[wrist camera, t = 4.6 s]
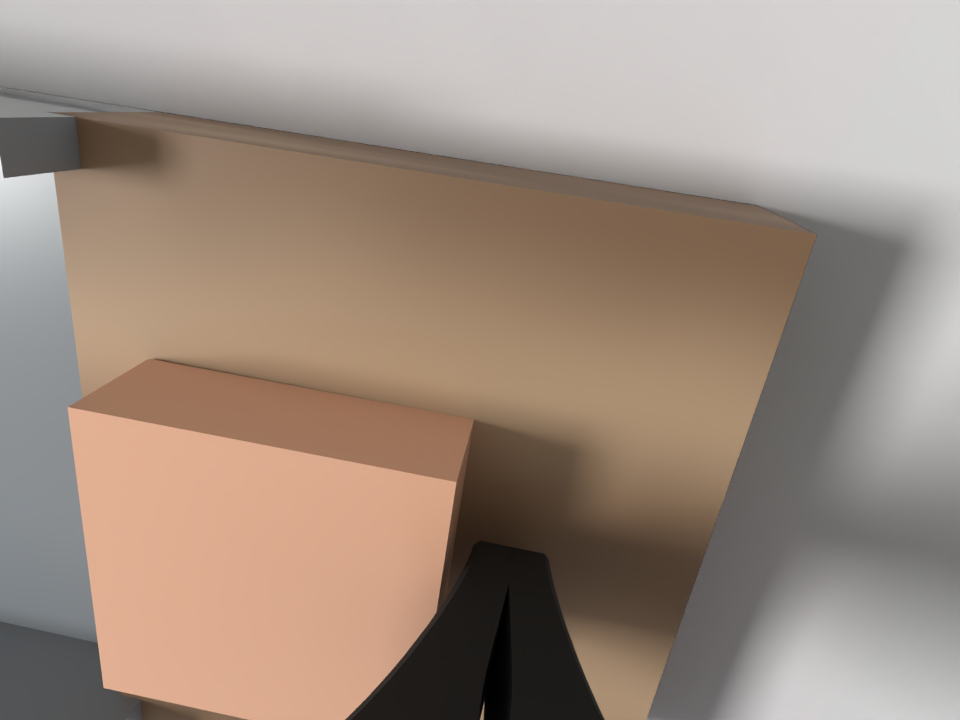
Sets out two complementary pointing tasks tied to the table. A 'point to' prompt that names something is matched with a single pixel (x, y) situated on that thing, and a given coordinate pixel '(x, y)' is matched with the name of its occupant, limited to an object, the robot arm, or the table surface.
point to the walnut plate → (458, 336)
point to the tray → (42, 432)
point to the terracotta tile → (261, 537)
